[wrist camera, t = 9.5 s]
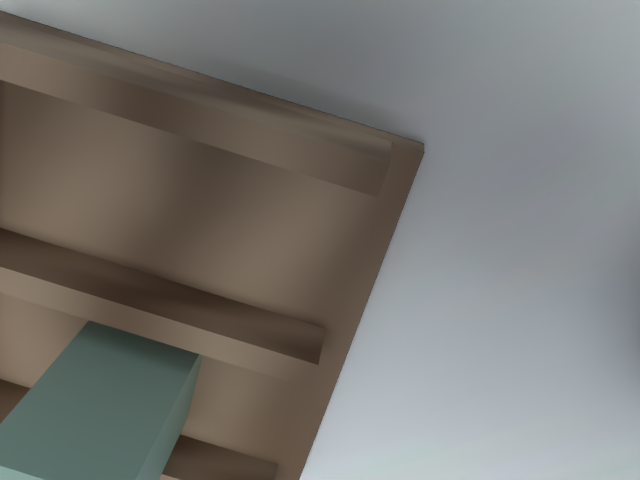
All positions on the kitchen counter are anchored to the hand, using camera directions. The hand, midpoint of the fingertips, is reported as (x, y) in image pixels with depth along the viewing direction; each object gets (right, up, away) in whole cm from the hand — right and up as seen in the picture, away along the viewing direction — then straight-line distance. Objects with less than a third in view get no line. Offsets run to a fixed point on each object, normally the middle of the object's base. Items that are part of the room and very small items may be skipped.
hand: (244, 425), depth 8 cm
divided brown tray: (-5, +1, +13) cm, 14 cm away
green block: (-6, -2, +14) cm, 15 cm away
